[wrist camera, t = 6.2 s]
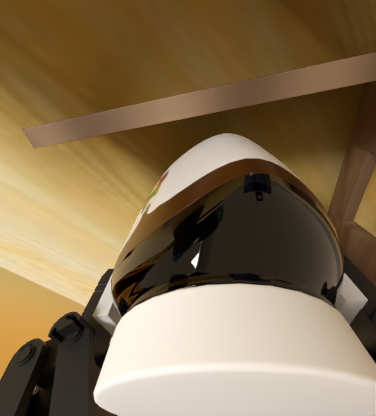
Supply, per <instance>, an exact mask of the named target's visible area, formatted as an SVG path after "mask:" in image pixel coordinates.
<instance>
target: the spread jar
mask: <svg viewBox="0 0 376 416" xmlns="http://www.w3.org/2000/svg"><path fill="white" fill-rule="evenodd" d="M344 269H345V265H344V258H343V251H342V245H341V241H340V238H339V235H338V233H337V230H336V228H335V226H334V225H333V223H332V221H331V219H330V217H329V216H328V214H327V212H326V210H325V209H324V207H323V206H322V204H321V203H320V201H319V200H318V199H317V197H316V196H315V195H314V194H313V193H312V191H311V190H310V189H309V188H308V187H307V186H306V185H305V184H304V182H303V181H302V180H301V179H300V178H299V177H298V176H297V175H296V174H295V173H294V172H292V171H291V170H290V169H289V168H288V167H287V166H285V165H284V164H283V163H282V162H281V161H279V160H278V159H277V158H276V157H274V156H273V155H272V154H270V153H269V152H267V151H266V150H265V149H263V148H262V147H260V146H259V145H258V144H256V143H255V142H253V141H251V140H249V139H247V138H245V137H243V136H240V135H236V134H232V133H223V134H220V135H216V136H212V137H210V138H208V139H206V140H204V141H202V142H200V143H199V144H197V145H196V146H194V147H193V148H191V149H190V150H188V151H187V152H186V153H184V154H183V155H182V156H181V157H179V158H178V159H177V160H176V161H175V162H174V163H173V164H172V165H171V166H170V167H169V168H168V169H167V171H166V172H165V173H164V174H163V176H162V177H161V178H160V180H159V181H158V182H157V184H156V186H155V187H154V189H153V190H152V192H151V193H150V195H149V197H148V198H147V200H146V202H145V203H144V205H143V207H142V209H141V211H140V213H139V215H138V217H137V219H136V221H135V223H134V225H133V227H132V229H131V231H130V233H129V235H128V237H127V239H126V241H125V243H124V246H123V248H122V250H121V252H120V254H119V257H118V259H117V262H116V264H115V267H114V271H113V275H112V279H111V295H112V299H113V303H114V306H115V308H116V311H117V313H118V315H119V316H120V318H121V320H120V321H119V323H118V325H117V326H116V329H115V331H114V334H113V337H112V340H111V343H110V346H109V349H108V352H107V355H106V358H105V360H104V363H103V366H102V369H101V372H100V375H99V378H98V381H97V384H96V387H95V390H94V392H93V393H94V400H95V402H96V403H97V404H98V405H99V406H100V407H101V408H103V409H105V410H107V411H109V412H111V413H113V414H116V415H119V416H376V363H375V362H374V361H373V359H372V358H371V356H370V355H369V353H368V352H367V350H366V349H365V347H364V346H363V344H362V343H361V342H360V340H359V339H358V337H357V336H356V334H355V333H354V331H353V330H352V328H351V327H350V325H349V324H348V323H347V321H346V320H345V319H344V317H343V316H342V314H341V313H340V312H339V311H338V310H337V309H336V305H337V303H338V300H339V297H340V294H341V290H342V286H343V278H344Z"/></svg>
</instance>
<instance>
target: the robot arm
mask: <svg viewBox="0 0 376 416" xmlns="http://www.w3.org/2000/svg"><path fill="white" fill-rule="evenodd" d="M343 258H344V265H345V269H344V278H343V286H342V290H341V294H340V297H339V300H338V303H337V305H336V309H337V310H338V311H339V312H340V313H341V314H342V316H343V317H344V319H345V320H346V321H347V323H348V324H349V325H350V327H351V328H352V330H353V331H354V333H355V334H356V336H357V337H358V339H359V340H360V342H361V343H362V344H363V346H364V347H365V349H366V350H367V352H368V353H369V355H370V356H371V358H372V359H373V361H374V362H375V363H376V287H375V286H374V285H373V283H372V282H371V281H370V280H369V279H368V278H367V277H366V276H365V275H364V274H363V273H362V272H360V271H359V269H358V268H357V267H356V266H355V265H353V263H352V262H351V261H350V260H349V259H348V258H347V257H346V256H345V255H344V254H343ZM113 271H114V269H108V270H107V271H106V273H105V274H104V275H103V276H102V277H101V279H100V281H99V283H98V286H97V287H96V289H95V292H94V293H93V295H92V296H91V298H90V300H89V302H88V304H87V306H86V308H85V310H84V312H83V314H82V316H81V315H80V314H78V313H77V312H70V313H68V314H65V315H64V316H63V317H61V318H60V319H59V320H58V321H57V322H56V323H55V324H54V325H53V327H52V328H51V330H50V332H49V335H48V337H50V338H51V340H49V341H46V342H43V341H42V340H41V339H39V338H38V339H33V340H31V341H29V342H27V343H26V344H25V345H23V346H22V347H21V348H20V349H19V350H18V351H17V352H16V353H15V355H14V356H13V358H12V360H11V361H10V363H9V364H8V366H7V368H6V370H5V372H4V374H3V376H2V378H1V380H0V416H118V415H116V414H113V413H111V412H109V411H107V410H105V409H103V408H101V407H100V406H99V405H98V404H97V403H96V402H95V400H94V393H93V392H94V390H95V387H96V384H97V381H98V378H99V375H100V372H101V369H102V366H103V363H104V360H105V358H106V355H107V352H108V349H109V346H110V344H109V343H110V340H111V337H113V334H114V331H115V329H116V326H117V325H118V323H119V321H120V320H121V318H120V316H119V315H118V313H117V311H116V308H115V306H114V303H113V299H112V295H111V279H112V275H113ZM35 386H37V387H36V389H35ZM34 389H35V391H34ZM33 392H34V393H33Z"/></svg>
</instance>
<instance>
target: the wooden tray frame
mask: <svg viewBox="0 0 376 416" xmlns="http://www.w3.org/2000/svg"><path fill="white" fill-rule="evenodd" d="M366 82H367V84H366V88H365V91H364V94H363V98H362V101H361V104H360V108H359V111H358V114H357V118H356V121H355V124H354V128H353V131H352V135H351V138H350V141H349V145H348V148H347V151H346V155H345V158H344V161H343V165H342V168H341V171H340V175H339V178H338V181H337V185H336V188H335V191H334V195H333V198H332V201H331V205H330V208H329V211H328V216H329V217H330V219H331V221H332V223H333V225H334V226H335V228H336V230H337V233H338V235H339V238H340V241H341V245H342V251H343V254H344V255H345V256H346V257H347V258H348V259H349V260H350V261H351V262H352V263H353V265H355V266H356V267H357V268H358V269H359V271H360V272H362V273H363V274H364V275H365V276H366V277H367V278H368V279H369V280H370V281H371V282H372V283H373V285H374V286H375V287H376V237H374V236H373V235H372V234H370V233H369V232H368V231H366V230H365V229H364V228H362V227H361V226H360V225H358V224H357V223H356V222H354V221H353V219H354V217H355V214H356V212H357V209H358V207H359V204H360V202H361V199H362V197H363V194H364V192H365V189H366V187H367V184H368V182H369V179H370V177H371V174H372V172H373V169H374V167H375V164H376V52H373V53H369V54H364V55H359V56H355V57H350V58H346V59H341V60H336V61H332V62H327V63H323V64H318V65H313V66H309V67H304V68H300V69H295V70H290V71H286V72H281V73H277V74H272V75H267V76H263V77H258V78H254V79H249V80H244V81H240V82H235V83H231V84H226V85H221V86H217V87H212V88H208V89H203V90H198V91H194V92H189V93H185V94H180V95H175V96H171V97H166V98H162V99H157V100H152V101H148V102H143V103H139V104H134V105H129V106H125V107H120V108H116V109H111V110H106V111H102V112H97V113H93V114H88V115H83V116H79V117H74V118H70V119H65V120H60V121H56V122H51V123H47V124H42V125H37V126H33V127H28V128H24V129H23V131H24V132H25V134H26V136H27V137H28V139H29V140H30V142H31V144H32V145H33V147H34V148H38V147H43V146H48V145H53V144H59V143H64V142H69V141H74V140H79V139H84V138H89V137H94V136H99V135H104V134H109V133H114V132H119V131H124V130H129V129H134V128H139V127H144V126H149V125H154V124H159V123H164V122H170V121H175V120H180V119H185V118H190V117H195V116H200V115H205V114H210V113H215V112H220V111H225V110H230V109H235V108H240V107H245V106H250V105H255V104H260V103H265V102H270V101H275V100H280V99H286V98H291V97H296V96H301V95H306V94H311V93H316V92H321V91H326V90H331V89H336V88H341V87H346V86H351V85H356V84H361V83H366Z"/></svg>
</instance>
